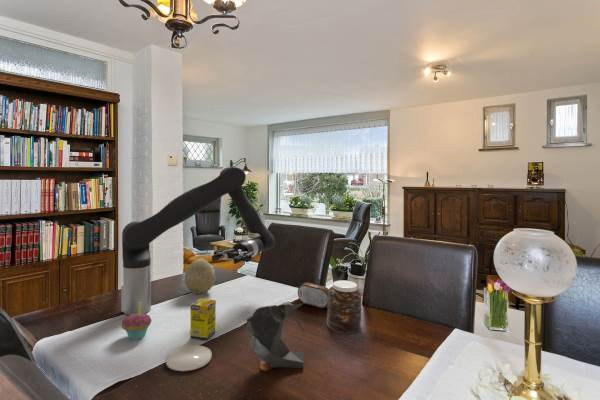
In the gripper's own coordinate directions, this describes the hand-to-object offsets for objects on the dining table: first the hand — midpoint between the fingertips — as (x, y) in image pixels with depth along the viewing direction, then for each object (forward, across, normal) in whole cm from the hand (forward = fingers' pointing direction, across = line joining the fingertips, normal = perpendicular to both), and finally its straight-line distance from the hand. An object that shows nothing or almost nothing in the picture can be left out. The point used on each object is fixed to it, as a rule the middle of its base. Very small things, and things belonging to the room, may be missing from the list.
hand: (223, 259), depth 120 cm
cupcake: (+20, -19, +22) cm, 35 cm away
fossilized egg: (-21, -24, +22) cm, 39 cm away
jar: (-11, +41, +22) cm, 48 cm away
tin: (-26, +26, +22) cm, 43 cm away
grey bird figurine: (+20, +28, +22) cm, 41 cm away
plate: (+26, +5, +22) cm, 34 cm away
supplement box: (+12, 0, +22) cm, 25 cm away
